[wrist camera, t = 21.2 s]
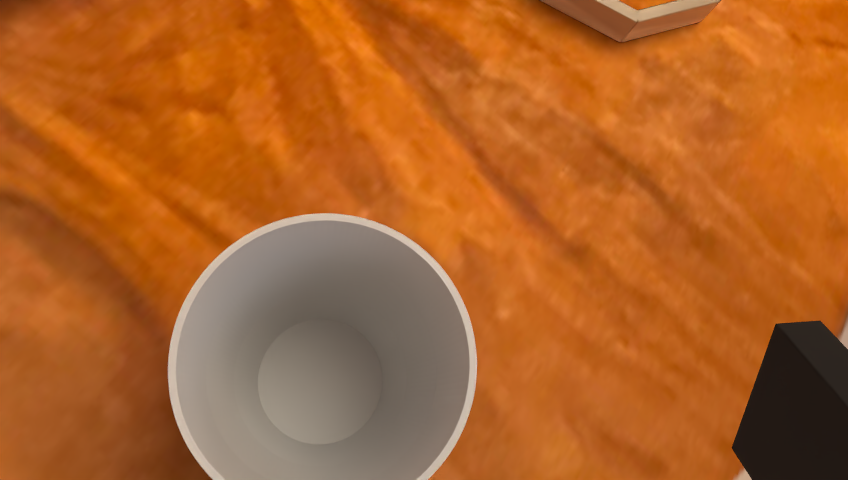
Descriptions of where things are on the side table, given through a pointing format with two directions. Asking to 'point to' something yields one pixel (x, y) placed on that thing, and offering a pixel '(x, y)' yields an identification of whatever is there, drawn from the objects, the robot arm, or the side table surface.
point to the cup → (322, 356)
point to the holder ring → (633, 16)
